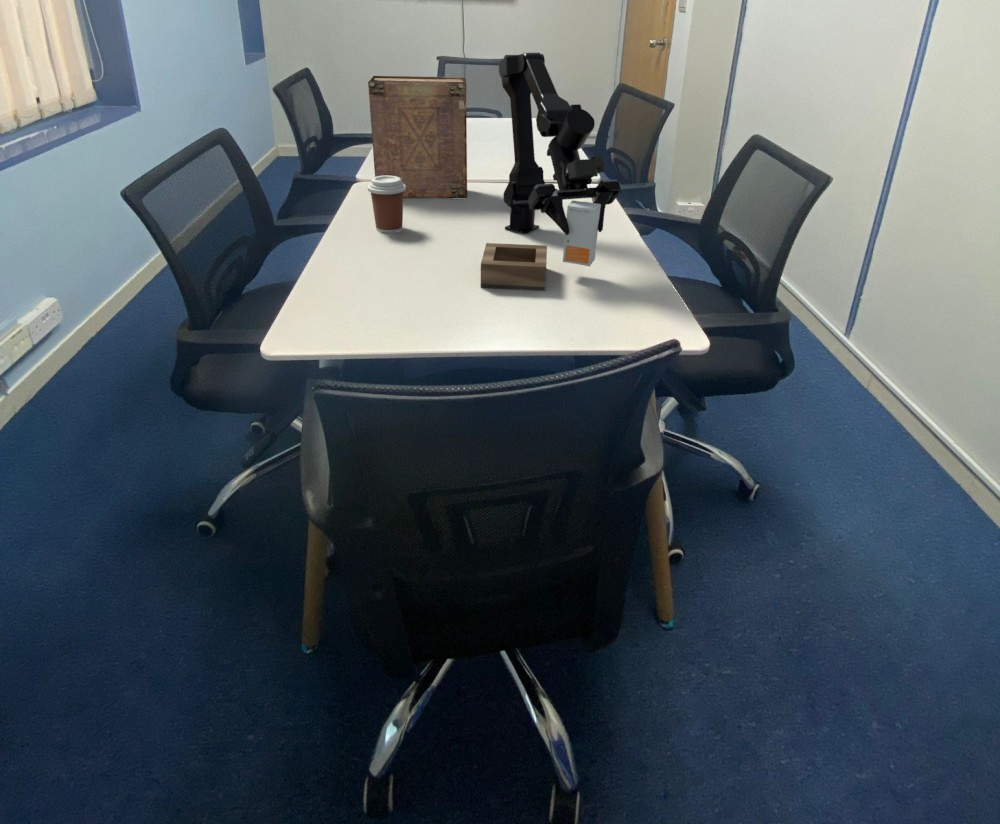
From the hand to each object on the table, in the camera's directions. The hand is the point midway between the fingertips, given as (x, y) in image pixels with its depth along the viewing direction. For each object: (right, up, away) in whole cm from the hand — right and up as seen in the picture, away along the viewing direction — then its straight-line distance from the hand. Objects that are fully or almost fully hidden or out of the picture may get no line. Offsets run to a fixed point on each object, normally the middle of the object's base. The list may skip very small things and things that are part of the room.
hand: (584, 232), depth 146 cm
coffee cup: (-44, +9, +31) cm, 55 cm away
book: (-39, +26, +59) cm, 76 cm away
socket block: (-14, -8, +5) cm, 17 cm away
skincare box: (-1, -5, +5) cm, 7 cm away
